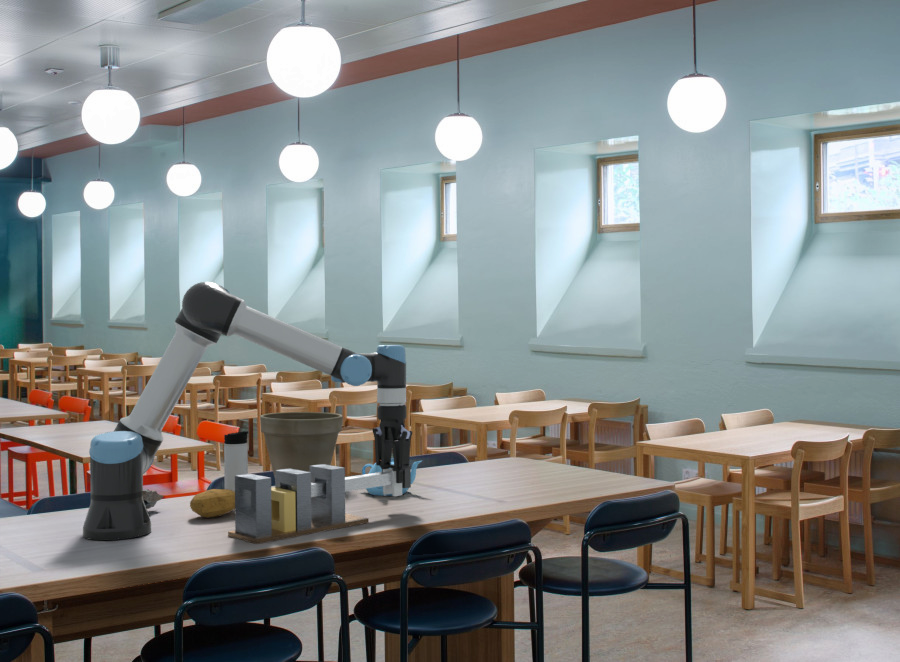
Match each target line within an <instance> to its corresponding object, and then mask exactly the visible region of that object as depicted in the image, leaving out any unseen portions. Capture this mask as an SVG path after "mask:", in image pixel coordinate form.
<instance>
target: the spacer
mask: <svg viewBox="0 0 900 662" xmlns="http://www.w3.org/2000/svg"><path fill="white" fill-rule="evenodd" d="M271 513H272V529H274V530H278V531H282V532H290V531H295V530H296V507H295V491H290V490H285V489H281V488H276V487H275V486H271Z"/></svg>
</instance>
